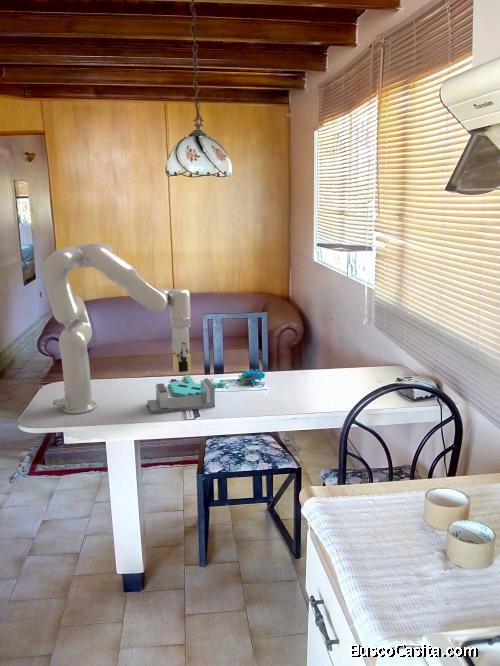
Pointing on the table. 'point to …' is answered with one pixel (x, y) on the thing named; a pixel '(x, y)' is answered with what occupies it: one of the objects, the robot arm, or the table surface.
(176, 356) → the brass block
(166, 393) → the sliding jaw
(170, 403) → the vise bed
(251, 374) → the blue flower cluster
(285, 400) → the table surface
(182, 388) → the alien figure
